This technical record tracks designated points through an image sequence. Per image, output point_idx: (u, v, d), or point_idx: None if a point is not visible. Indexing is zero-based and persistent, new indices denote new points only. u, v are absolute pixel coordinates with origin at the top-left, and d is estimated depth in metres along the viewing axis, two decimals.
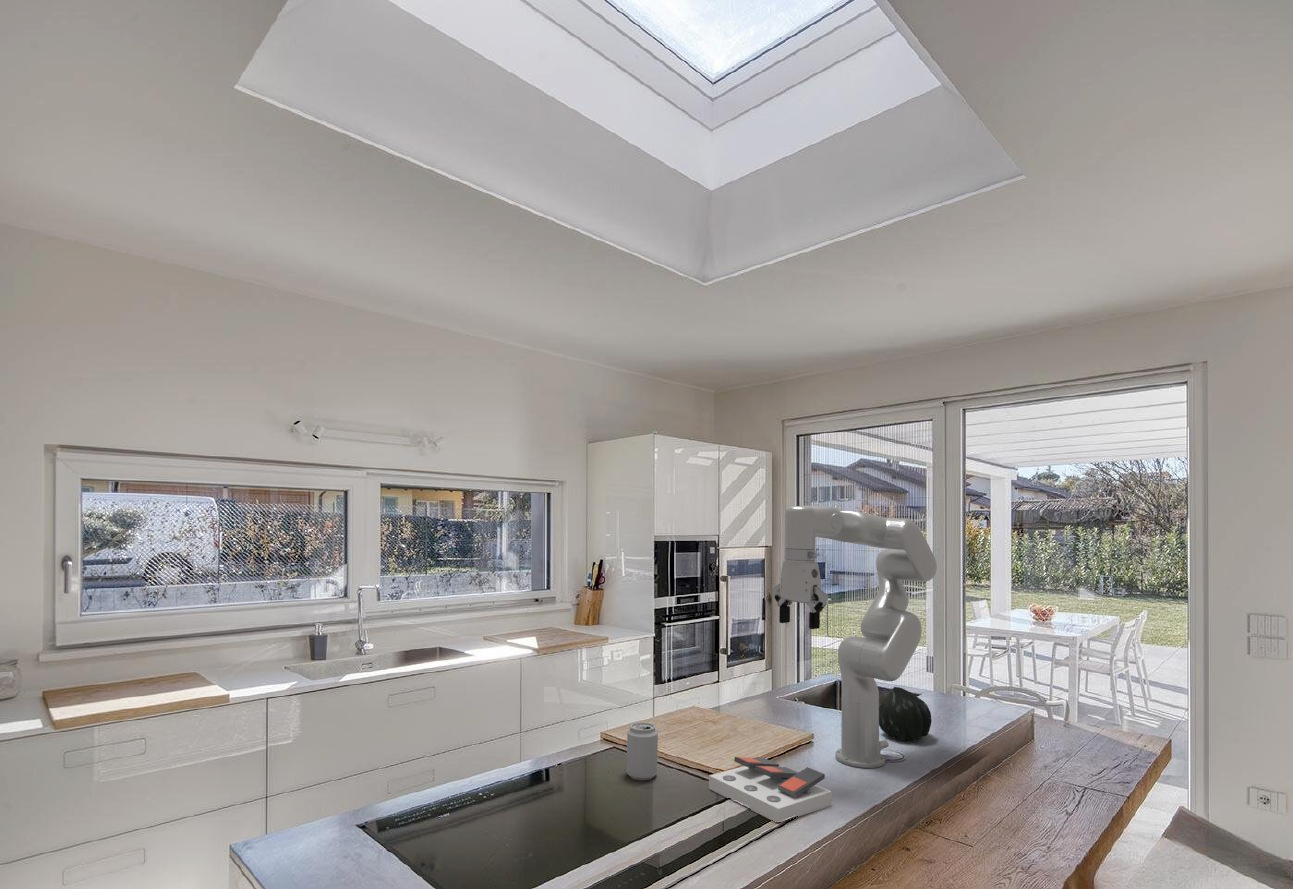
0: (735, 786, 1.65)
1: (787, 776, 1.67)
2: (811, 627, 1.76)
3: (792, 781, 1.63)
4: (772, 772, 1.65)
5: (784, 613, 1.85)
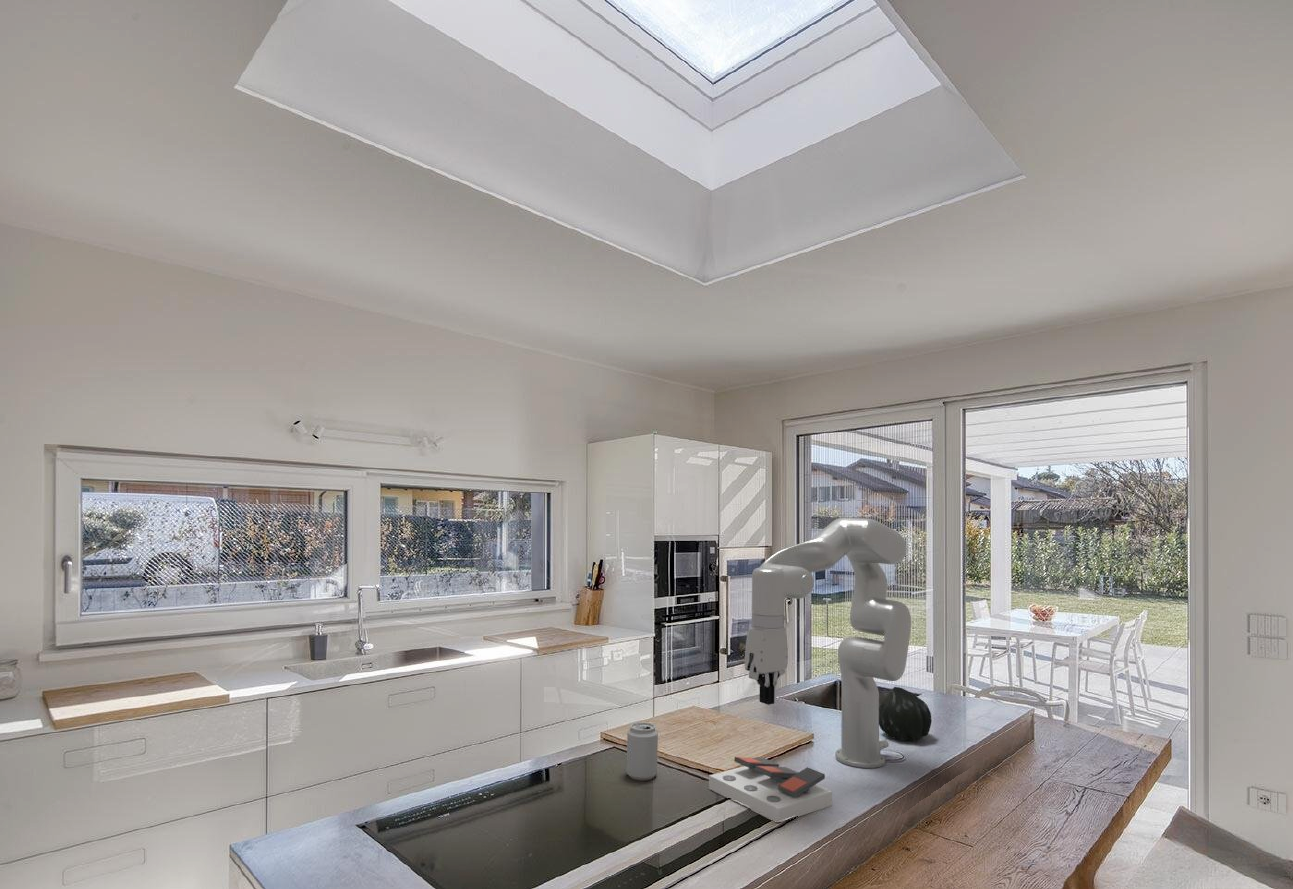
0: (735, 786, 1.65)
1: (787, 776, 1.67)
2: None
3: (792, 781, 1.63)
4: (772, 772, 1.65)
5: None
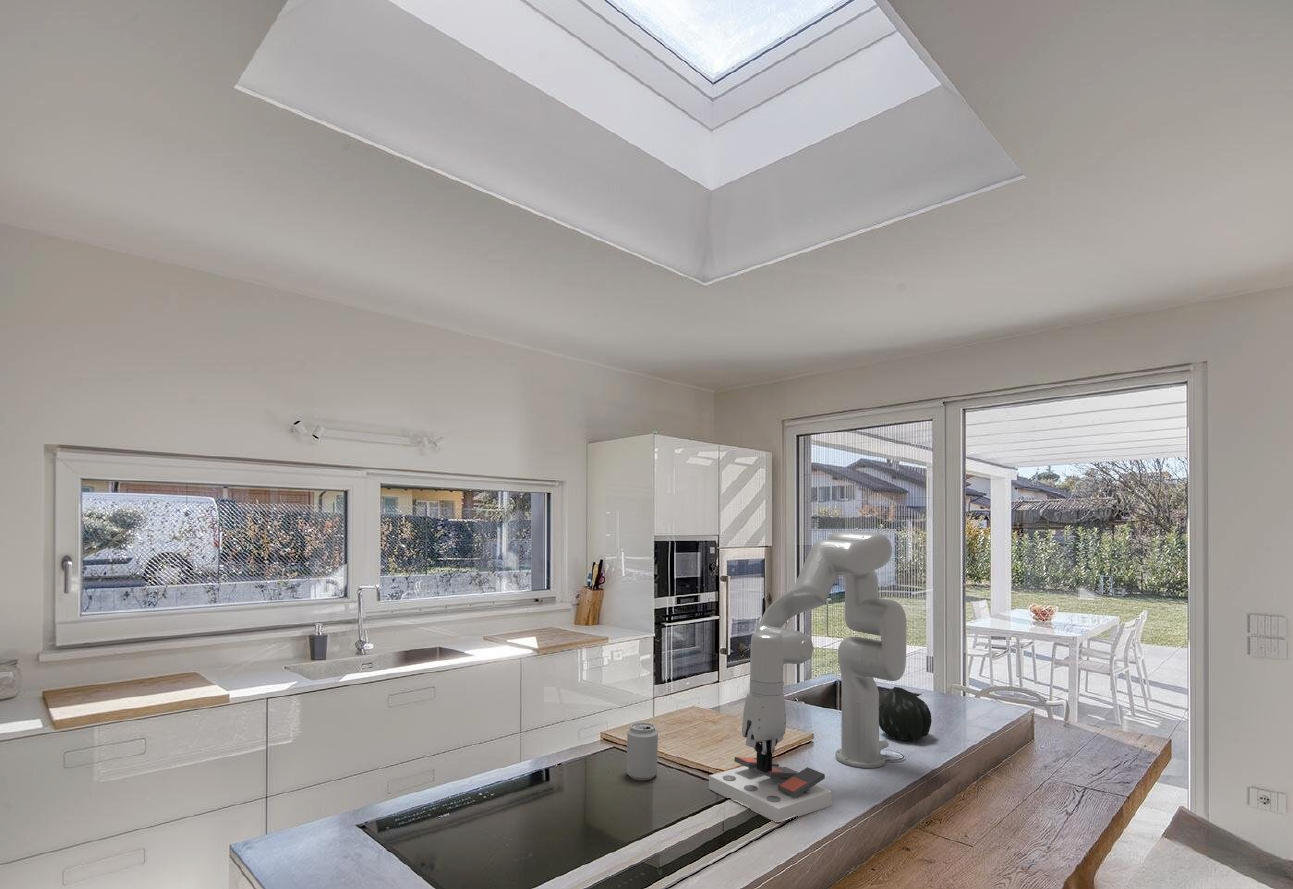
0: (735, 786, 1.65)
1: (787, 776, 1.67)
2: None
3: (792, 781, 1.63)
4: (772, 772, 1.65)
5: None
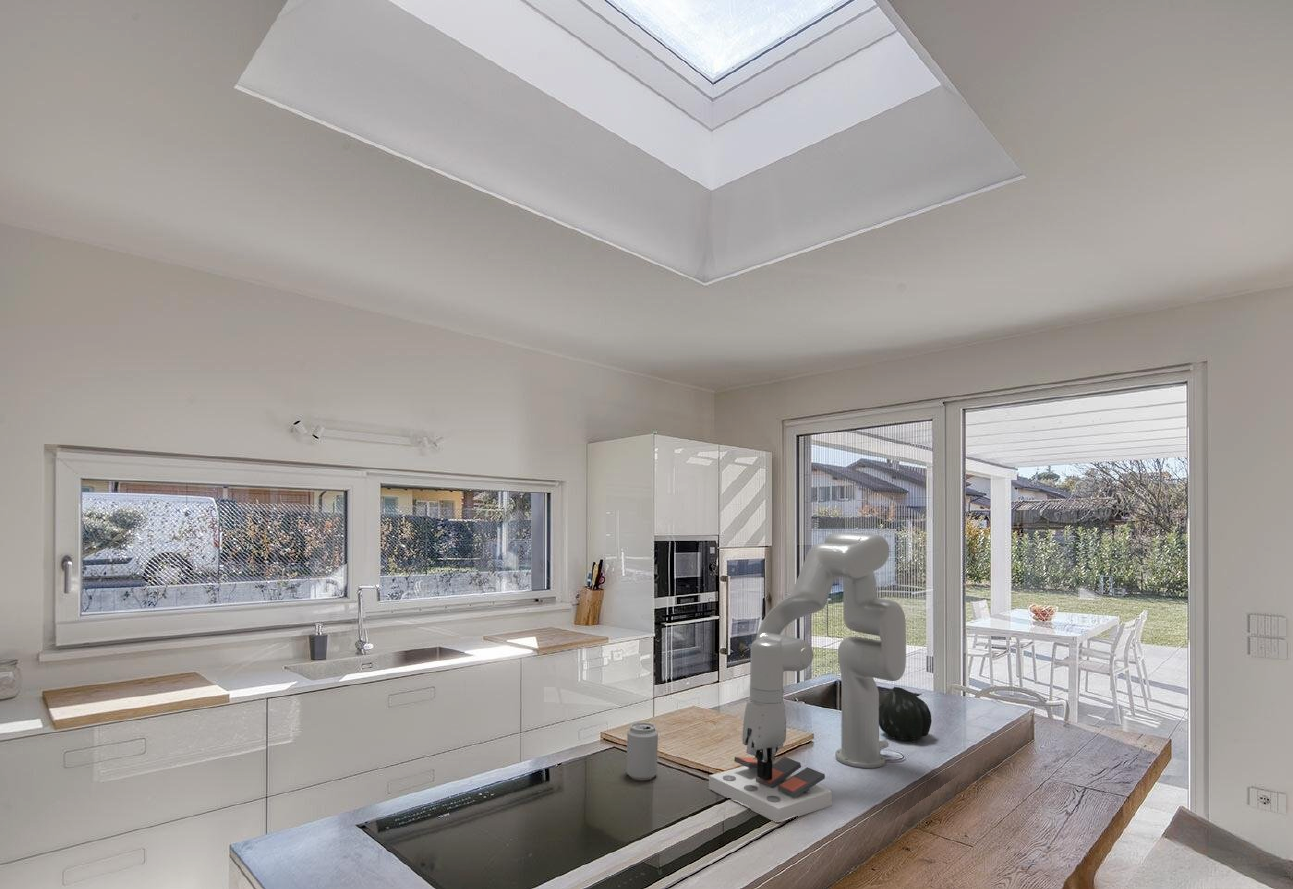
0: (735, 786, 1.65)
1: (787, 775, 1.67)
2: None
3: (792, 781, 1.63)
4: (771, 782, 1.65)
5: None
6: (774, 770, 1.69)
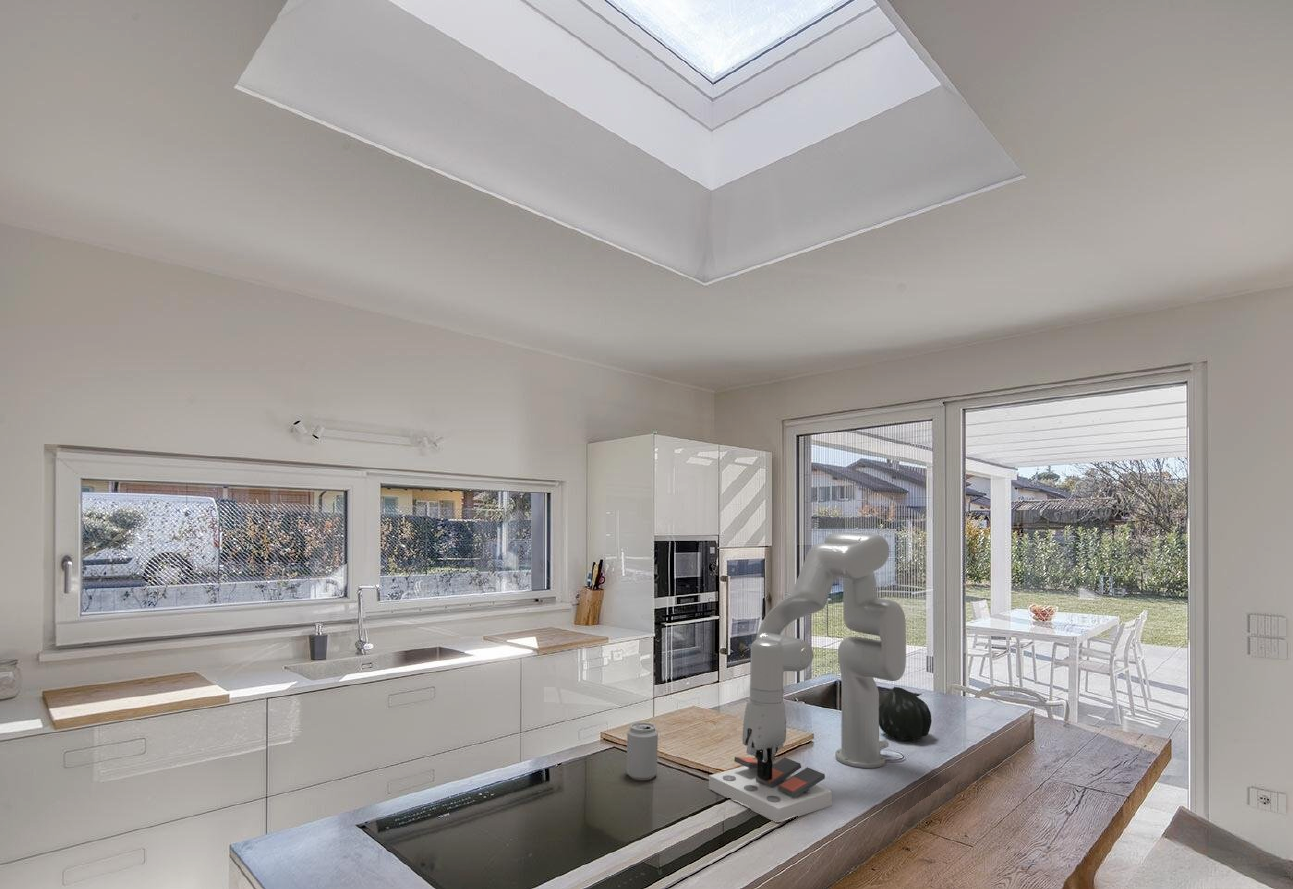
0: (735, 786, 1.65)
1: (787, 775, 1.67)
2: None
3: (792, 781, 1.63)
4: (771, 782, 1.65)
5: None
6: (774, 770, 1.69)
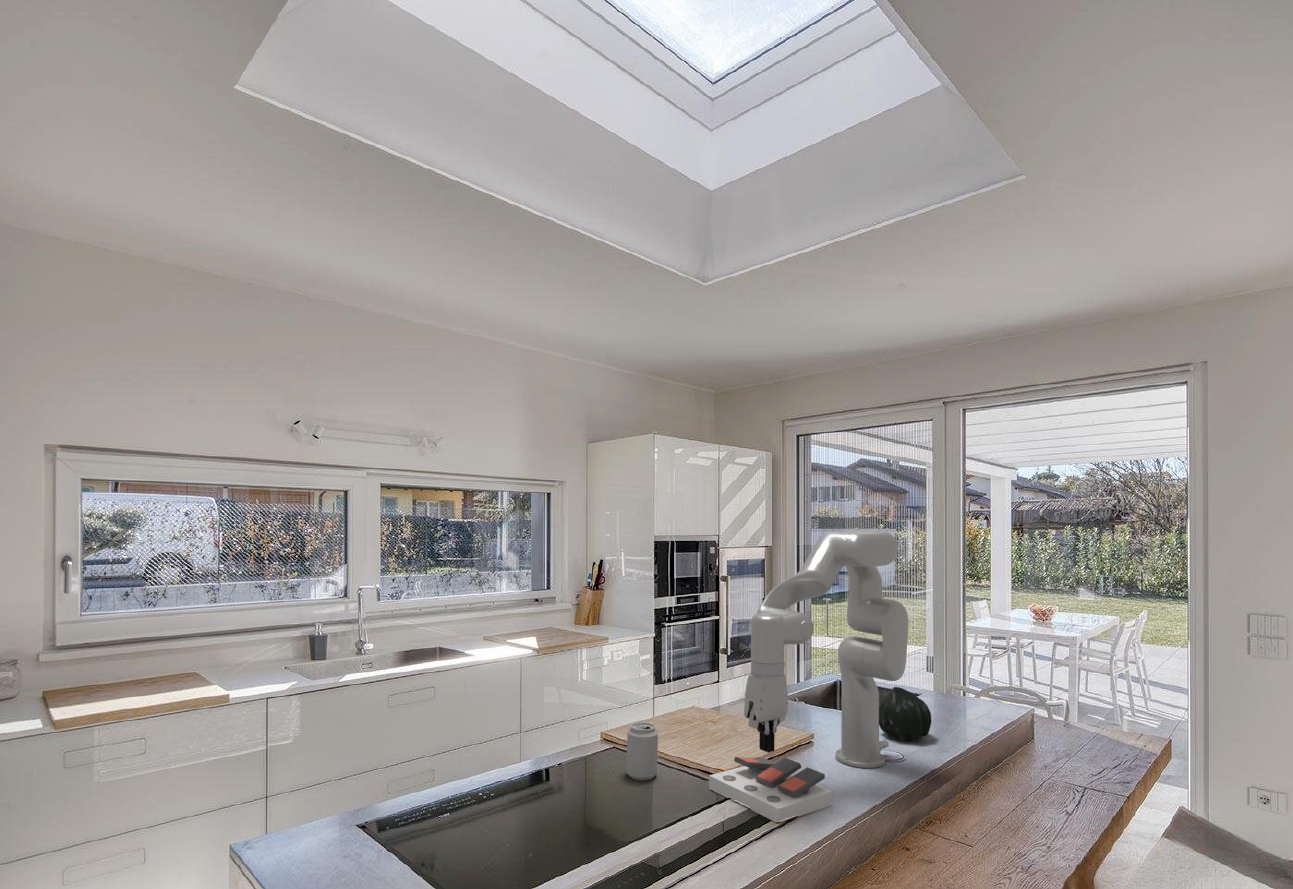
0: (735, 786, 1.65)
1: (787, 775, 1.67)
2: None
3: (792, 781, 1.63)
4: (771, 782, 1.65)
5: None
6: (774, 770, 1.69)
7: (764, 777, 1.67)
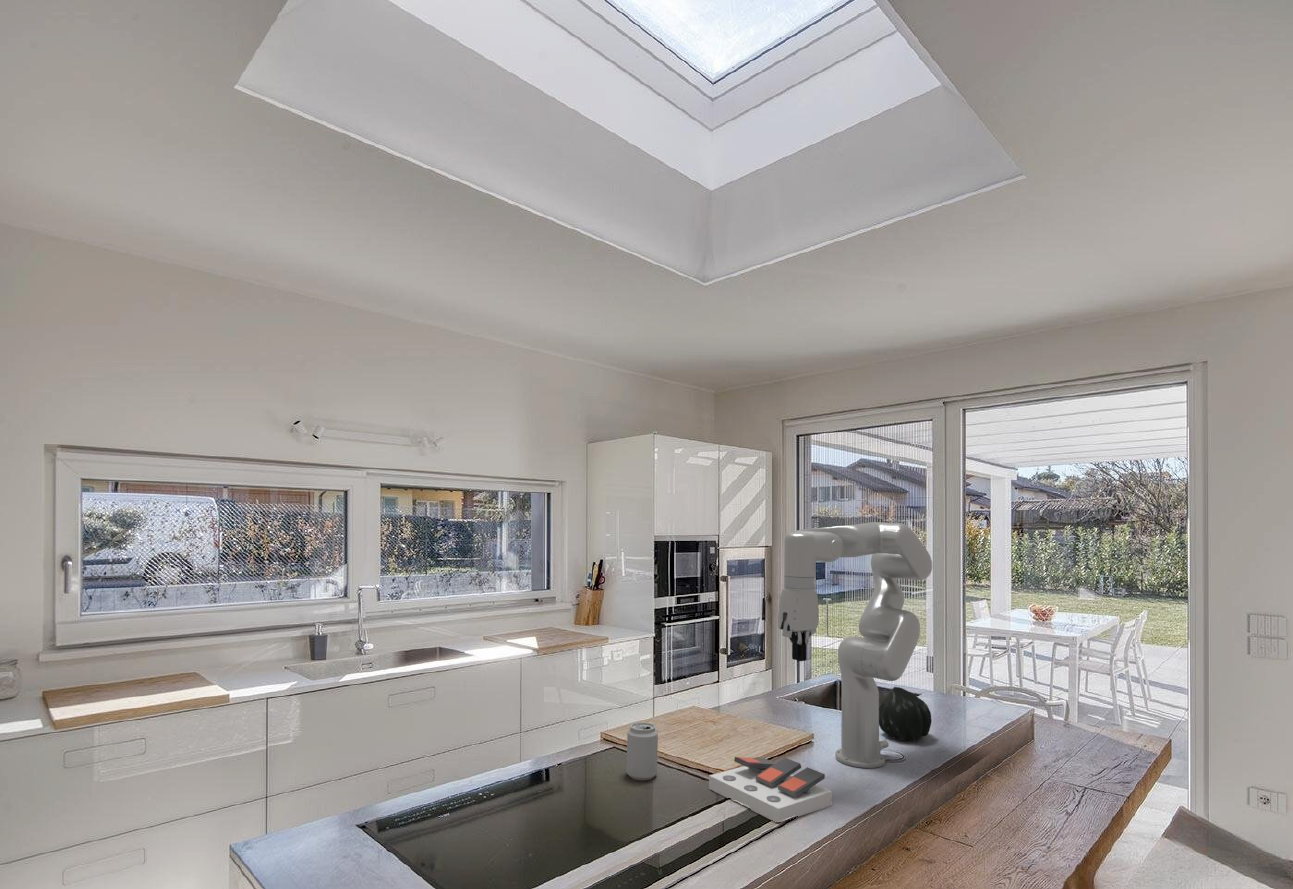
0: (735, 786, 1.65)
1: (787, 775, 1.67)
2: None
3: (792, 781, 1.63)
4: (771, 781, 1.65)
5: None
6: (774, 770, 1.69)
7: (764, 777, 1.67)
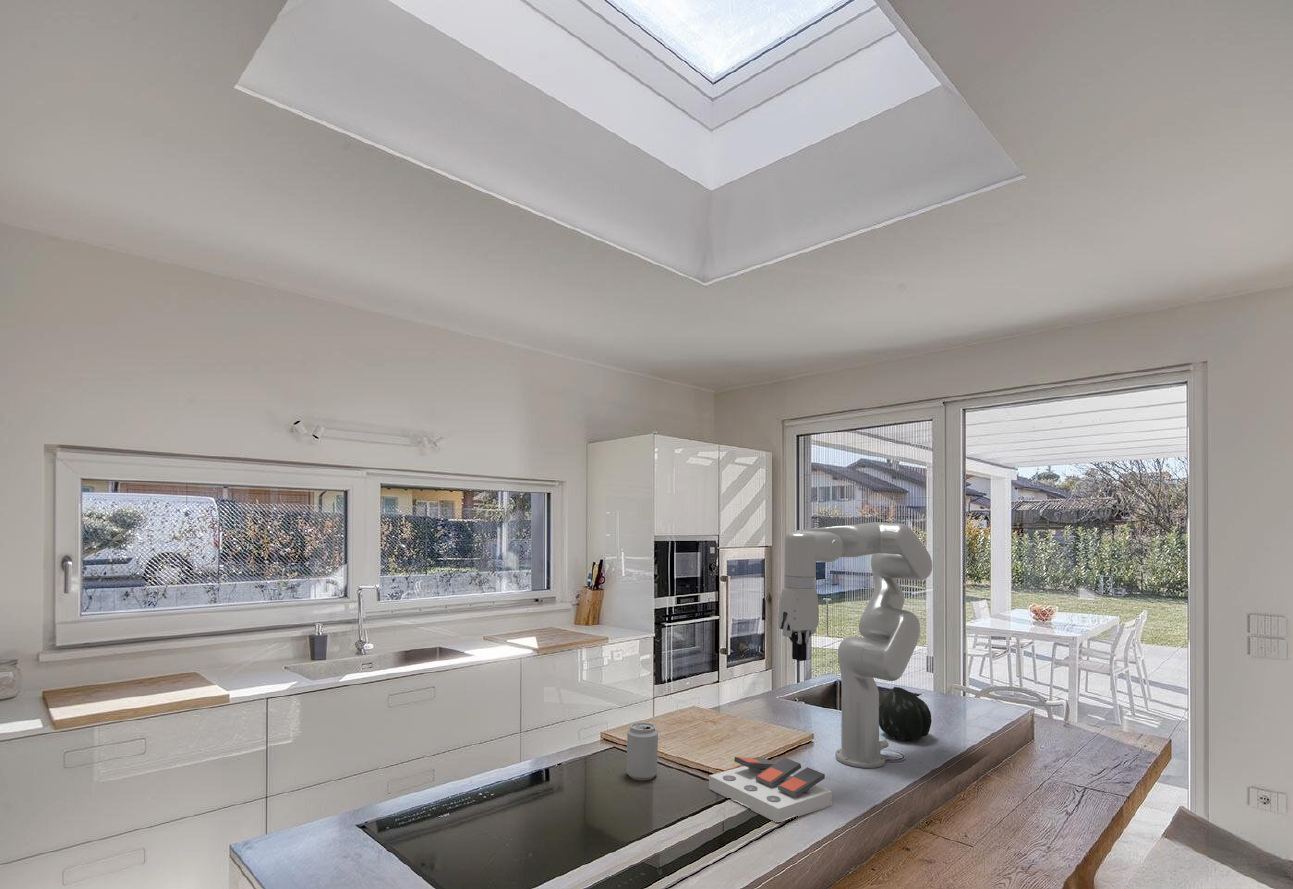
0: (735, 786, 1.65)
1: (787, 775, 1.67)
2: None
3: (792, 781, 1.63)
4: (771, 781, 1.65)
5: None
6: (774, 770, 1.69)
7: (764, 777, 1.67)
